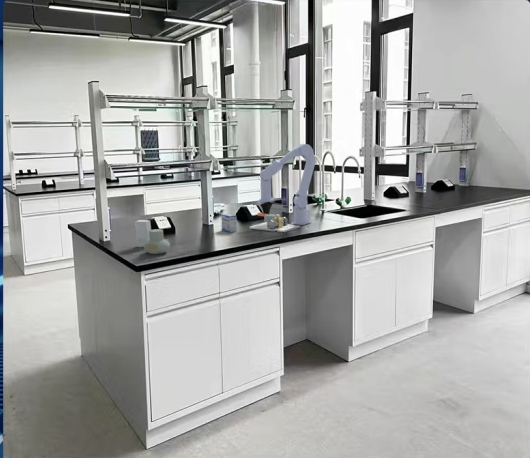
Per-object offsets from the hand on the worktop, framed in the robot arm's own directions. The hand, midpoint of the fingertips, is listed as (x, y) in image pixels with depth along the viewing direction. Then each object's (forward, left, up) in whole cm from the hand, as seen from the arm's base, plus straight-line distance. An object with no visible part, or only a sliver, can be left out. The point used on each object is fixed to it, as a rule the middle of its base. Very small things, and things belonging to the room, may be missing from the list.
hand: (266, 215), depth 268 cm
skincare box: (+71, -19, -6) cm, 74 cm away
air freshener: (+76, -4, -6) cm, 77 cm away
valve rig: (+5, +9, -5) cm, 11 cm away
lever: (+4, +4, +1) cm, 6 cm away
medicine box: (+23, -8, -6) cm, 25 cm away
